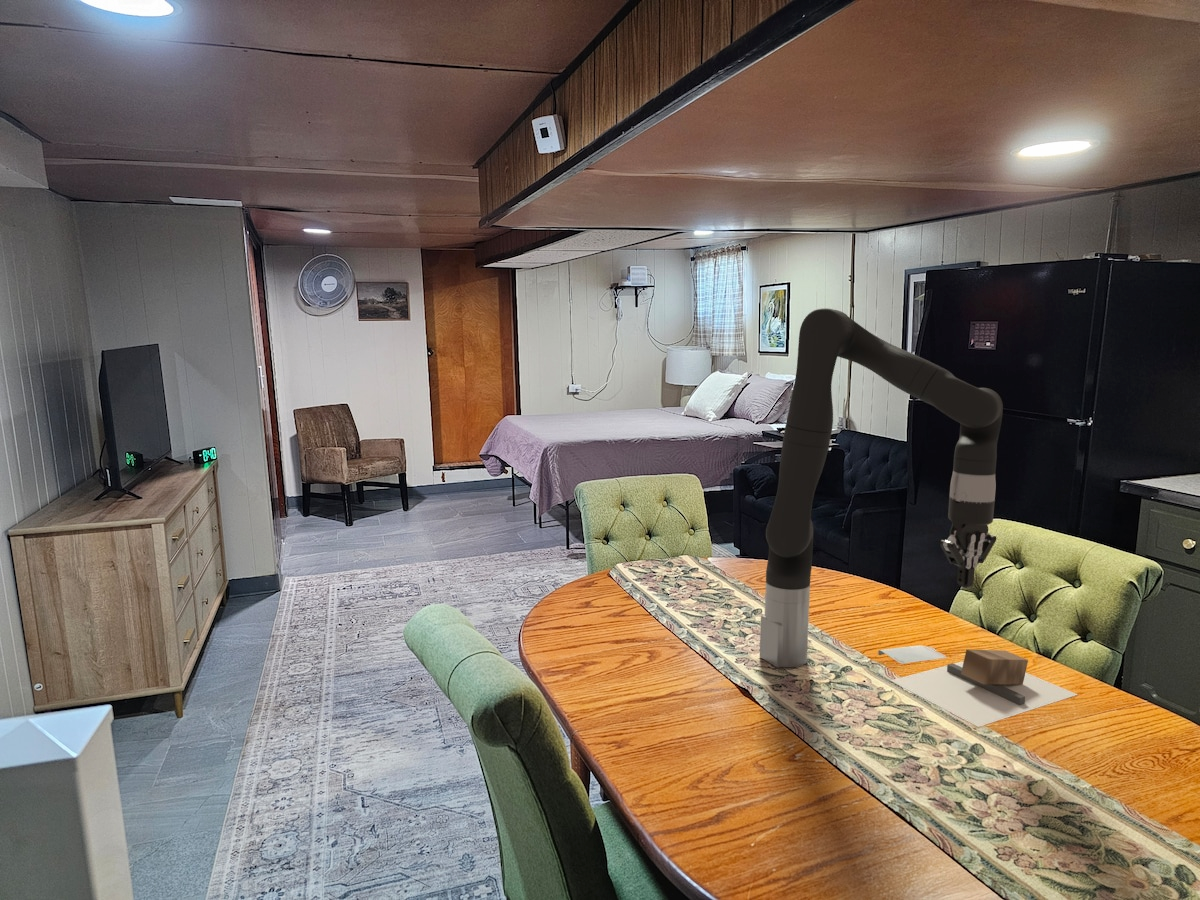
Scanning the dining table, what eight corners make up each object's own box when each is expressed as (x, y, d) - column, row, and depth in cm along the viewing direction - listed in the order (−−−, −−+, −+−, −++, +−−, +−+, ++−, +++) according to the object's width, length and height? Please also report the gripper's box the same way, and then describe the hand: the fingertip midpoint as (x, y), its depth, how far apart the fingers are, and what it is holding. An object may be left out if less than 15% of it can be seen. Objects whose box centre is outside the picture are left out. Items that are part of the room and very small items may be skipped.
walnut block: (989, 659, 141) (1028, 659, 147) (966, 649, 146) (1005, 650, 151) (983, 684, 142) (1022, 684, 147) (961, 673, 146) (999, 674, 152)
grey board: (977, 732, 131) (978, 718, 131) (890, 685, 149) (890, 673, 149) (1077, 699, 143) (1078, 687, 143) (984, 659, 161) (985, 648, 160)
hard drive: (902, 664, 156) (952, 657, 159) (878, 649, 164) (925, 642, 167) (902, 672, 156) (951, 665, 159) (877, 656, 164) (925, 649, 167)
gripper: (978, 489, 143) (971, 575, 146) (929, 495, 138) (923, 585, 140) (1014, 497, 137) (1006, 587, 139) (964, 503, 131) (957, 597, 133)
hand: (964, 586), depth 140 cm, fingers closed
